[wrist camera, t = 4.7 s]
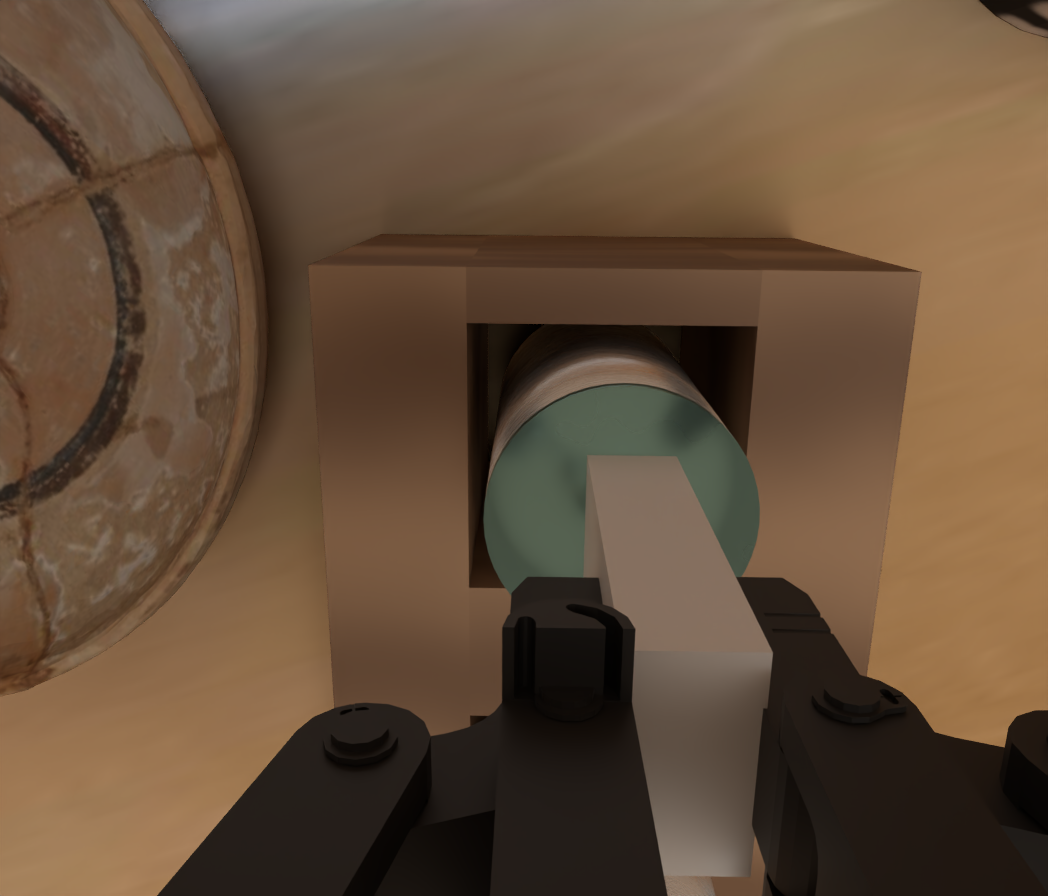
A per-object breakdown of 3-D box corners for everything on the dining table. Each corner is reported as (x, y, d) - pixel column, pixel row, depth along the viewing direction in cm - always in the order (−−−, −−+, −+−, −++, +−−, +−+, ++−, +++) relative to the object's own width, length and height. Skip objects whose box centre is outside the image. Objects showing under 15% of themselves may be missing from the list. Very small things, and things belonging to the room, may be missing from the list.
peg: (500, 310, 23) (483, 384, 15) (688, 311, 23) (772, 388, 15) (500, 486, 25) (483, 643, 17) (677, 488, 25) (748, 646, 16)
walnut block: (381, 234, 26) (307, 265, 18) (795, 238, 26) (921, 272, 18) (399, 738, 31) (348, 952, 23) (746, 742, 31) (827, 960, 23)
